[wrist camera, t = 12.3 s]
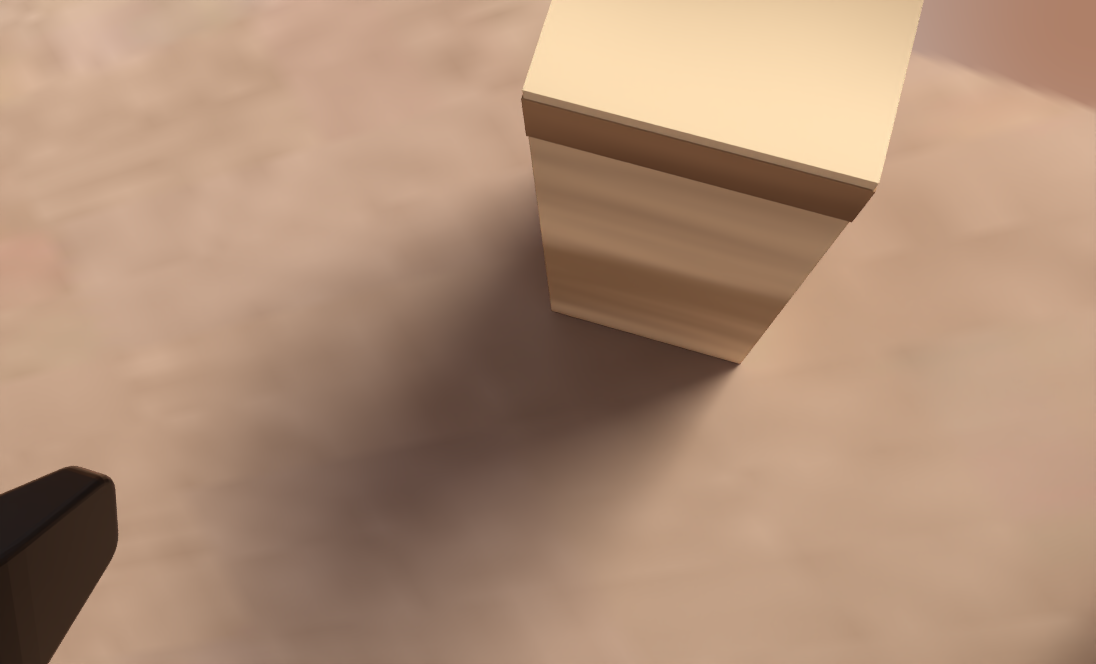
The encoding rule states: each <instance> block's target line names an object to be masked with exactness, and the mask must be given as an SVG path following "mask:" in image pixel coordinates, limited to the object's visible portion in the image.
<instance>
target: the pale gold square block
mask: <svg viewBox="0 0 1096 664" xmlns="http://www.w3.org/2000/svg"><path fill="white" fill-rule="evenodd" d="M923 1H924V0H552V2H551V5H550V8H549V11H548V14H547V17H546V20H545V23H544V26H543V29H542V32H541V35H540V38H539V41H538V44H537V47H536V50H535V53H534V56H533V59H532V62H531V65H530V68H529V71H528V74H527V77H526V80H525V84H524V87H523V90H522V91H523V95H522V98H521V101H522V108H523V116H524V123H525V130H526V136H529V144H530V151H531V159H532V167H533V174H534V182H535V189H536V197H537V204H538V212H539V220H540V227H541V235H542V242H543V250H544V257H545V265H546V272H547V280H548V288H549V295H550V303H551V310H552V311H554V312H558V313H561V314H565V315H568V316H572V317H576V318H579V319H583V320H586V321H590V322H593V323H597V324H600V325H604V326H607V327H611V328H614V329H618V330H621V331H625V332H629V333H632V334H636V335H639V336H643V337H646V338H650V339H653V340H657V341H660V342H664V343H667V344H671V345H674V346H678V347H681V348H685V349H689V350H692V351H696V352H699V353H703V354H706V355H710V356H713V357H717V358H720V359H724V360H727V361H731V362H734V363H738V364H741V362H742V361H743V360H744V358H745V357H746V356H747V355H748V353H749V352H750V351H751V349H752V348H753V347H754V345H755V344H756V343H757V342H758V340H759V339H760V338H761V336H762V335H763V334H764V332H765V331H766V330H767V329H768V327H769V326H770V325H771V323H772V322H773V321H774V319H775V318H776V317H777V315H778V314H779V313H780V312H781V310H782V309H783V308H784V306H785V305H786V304H787V302H788V301H789V300H790V299H791V297H792V296H793V295H794V293H795V292H796V291H797V289H798V288H799V287H800V286H801V284H802V283H803V282H804V280H805V279H806V278H807V276H808V275H809V274H810V273H811V271H812V270H813V269H814V267H815V266H816V265H817V263H818V262H819V261H820V259H821V258H822V257H823V256H824V254H825V253H826V252H827V250H828V249H829V248H830V246H831V245H832V244H833V243H834V241H835V240H836V239H837V237H838V236H839V235H840V233H841V232H842V231H843V230H844V228H845V227H846V226H847V224H848V223H849V222H852V221H853V220H854V219H855V218H856V216H857V215H858V214H859V212H860V211H861V210H862V209H863V207H864V206H865V205H866V203H867V202H868V201H869V200H870V198H871V197H872V196H873V194H874V193H875V191H876V187H877V185H878V184H879V181H880V177H881V173H882V169H883V165H884V161H885V157H886V153H887V149H888V145H889V140H890V136H891V132H892V128H893V124H894V120H895V116H896V112H897V108H898V104H899V99H900V95H901V91H902V87H903V83H904V79H905V75H906V71H907V67H908V63H909V59H910V54H911V50H912V46H913V42H914V38H915V34H916V30H917V26H918V22H919V17H920V13H921V9H922V5H923Z"/></svg>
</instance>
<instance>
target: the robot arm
mask: <svg viewBox="0 0 1096 664" xmlns="http://www.w3.org/2000/svg"><path fill="white" fill-rule="evenodd" d="M117 542H118V522H117V507H116V492H115V485H114V483H113V481H112V479H111V478H110V477H108V476H107V475H104V474H101V473H98V472H95V471H92V470H88V469H85V468H82V467H78V466H69V467H65V468H62V469H59V470H57V471H55V472H52V473H50V474H47V475H45V476H43V477H40V478H38V479H36V480H33V481H31V482H28V483H26V484H24V485H21V486H19V487H17V488H14V489H12V490H10V491H7V492H5V493H2V494H0V664H48V663H49V662H50V660H51V658H52V657H53V655H54V653H55V652H56V650H57V648H58V647H59V645H60V644H61V642H62V640H63V639H64V637H65V635H66V634H67V632H68V630H69V629H70V627H71V625H72V624H73V622H74V621H75V619H76V617H77V616H78V614H79V612H80V611H81V609H82V607H83V606H84V604H85V602H86V601H87V599H88V598H89V596H90V594H91V593H92V591H93V589H94V588H95V586H96V584H97V583H98V581H99V579H100V578H101V576H102V575H103V573H104V571H105V570H106V568H107V566H108V565H109V563H110V561H111V559H112V557H113V555H114V553H115V550H116V547H117Z"/></svg>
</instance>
